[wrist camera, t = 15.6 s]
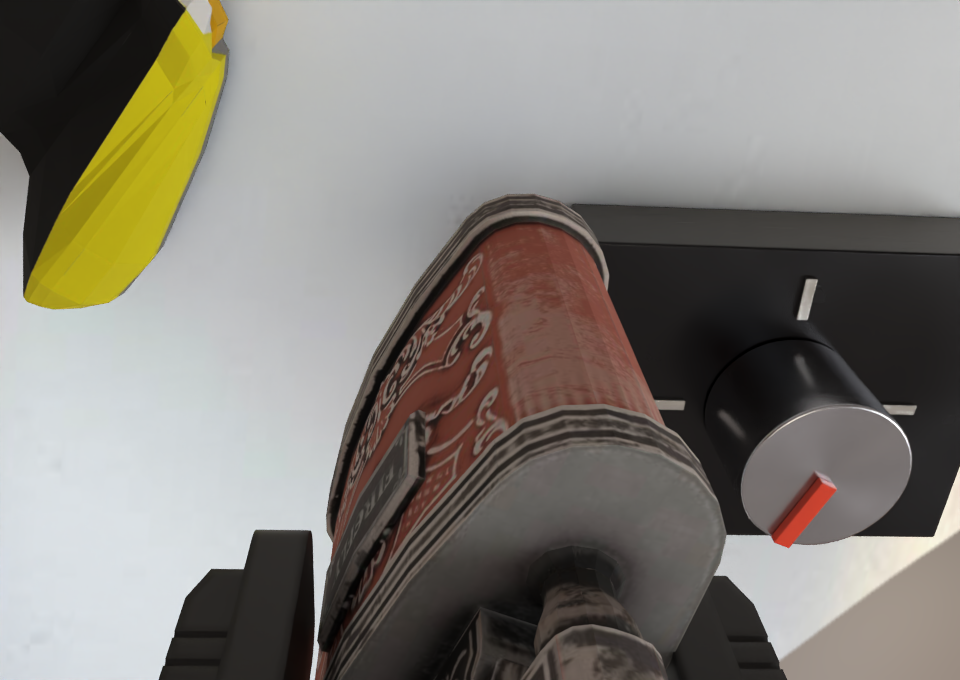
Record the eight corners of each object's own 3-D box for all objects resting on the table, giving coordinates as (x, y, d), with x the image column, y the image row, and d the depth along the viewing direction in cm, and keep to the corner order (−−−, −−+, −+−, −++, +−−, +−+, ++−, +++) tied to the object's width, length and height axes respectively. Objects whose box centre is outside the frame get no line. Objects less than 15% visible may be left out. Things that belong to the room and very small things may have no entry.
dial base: (976, 217, 31) (1040, 259, 28) (890, 480, 36) (936, 540, 33) (570, 203, 30) (588, 243, 27) (541, 475, 35) (553, 537, 32)
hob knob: (761, 314, 28) (813, 385, 24) (886, 374, 29) (954, 449, 26) (674, 436, 30) (711, 519, 26) (795, 487, 31) (846, 573, 27)
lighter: (469, 159, 15) (535, 589, 6) (643, 240, 16) (925, 720, 7) (294, 514, 18) (170, 1135, 9) (447, 566, 19) (468, 1180, 10)
